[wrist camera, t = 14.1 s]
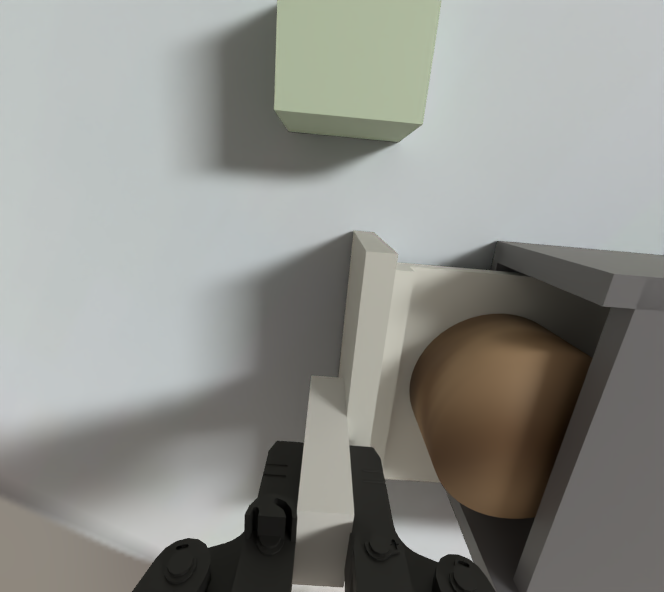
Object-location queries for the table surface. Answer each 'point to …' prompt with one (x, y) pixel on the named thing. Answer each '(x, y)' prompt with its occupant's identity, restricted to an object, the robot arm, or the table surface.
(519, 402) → the brown flattened rounded piece
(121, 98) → the table surface
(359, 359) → the cream pull-out drawer
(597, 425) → the housing
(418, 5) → the pale green block
